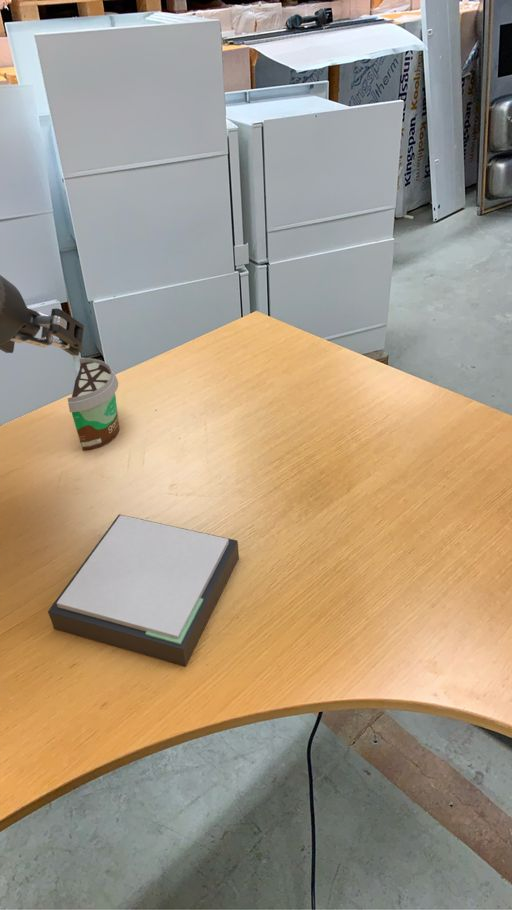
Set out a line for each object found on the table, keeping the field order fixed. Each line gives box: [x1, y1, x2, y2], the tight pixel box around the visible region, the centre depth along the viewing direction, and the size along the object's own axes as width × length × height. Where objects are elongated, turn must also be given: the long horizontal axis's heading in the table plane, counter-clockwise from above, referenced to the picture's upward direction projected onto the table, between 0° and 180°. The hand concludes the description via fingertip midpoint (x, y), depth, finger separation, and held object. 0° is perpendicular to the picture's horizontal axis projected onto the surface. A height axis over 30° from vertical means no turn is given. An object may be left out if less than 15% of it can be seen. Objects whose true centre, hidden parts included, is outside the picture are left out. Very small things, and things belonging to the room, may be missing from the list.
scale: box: [47, 514, 240, 667], centre depth 75 cm, size 16×16×4 cm
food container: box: [66, 357, 120, 452], centre depth 99 cm, size 12×6×10 cm, turn 4°
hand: (43, 346), depth 80 cm, fingers open, 8 cm apart
